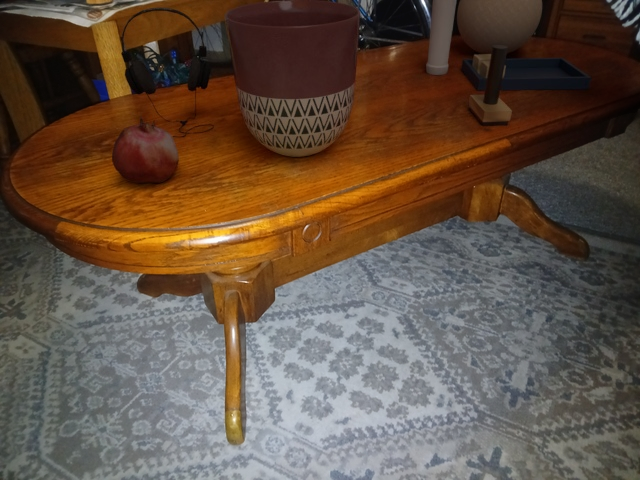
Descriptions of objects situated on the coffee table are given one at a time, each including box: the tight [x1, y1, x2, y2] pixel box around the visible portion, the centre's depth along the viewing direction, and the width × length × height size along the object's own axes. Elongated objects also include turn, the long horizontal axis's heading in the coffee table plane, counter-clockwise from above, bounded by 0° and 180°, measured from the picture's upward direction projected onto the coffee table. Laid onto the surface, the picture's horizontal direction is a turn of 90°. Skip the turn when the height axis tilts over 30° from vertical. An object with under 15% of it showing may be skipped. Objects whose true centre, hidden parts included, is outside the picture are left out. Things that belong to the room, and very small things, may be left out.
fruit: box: [111, 116, 180, 184], centre depth 75 cm, size 9×10×10 cm
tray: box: [460, 57, 592, 92], centre depth 115 cm, size 24×16×2 cm, turn 90°
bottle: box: [425, 0, 457, 76], centre depth 114 cm, size 5×5×25 cm
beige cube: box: [480, 61, 506, 78], centre depth 112 cm, size 4×4×4 cm
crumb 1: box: [472, 53, 491, 75], centre depth 116 cm, size 4×4×4 cm
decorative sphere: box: [456, 0, 543, 55], centre depth 128 cm, size 20×20×20 cm
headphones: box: [119, 6, 215, 138], centre depth 90 cm, size 15×11×20 cm
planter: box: [224, 0, 361, 158], centre depth 80 cm, size 20×20×21 cm
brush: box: [468, 45, 513, 127], centre depth 93 cm, size 5×9×13 cm, turn 3°
